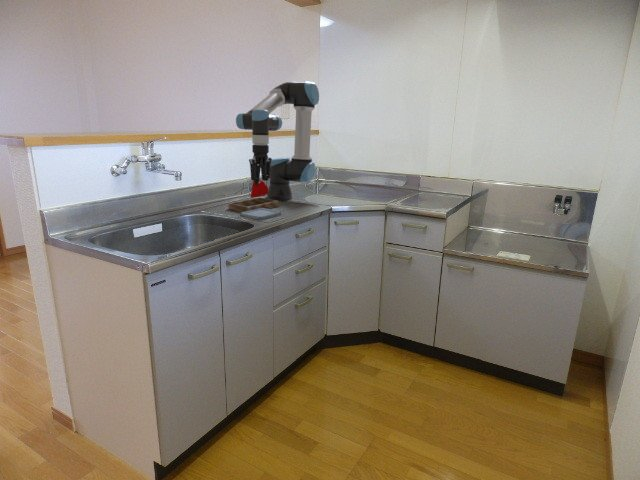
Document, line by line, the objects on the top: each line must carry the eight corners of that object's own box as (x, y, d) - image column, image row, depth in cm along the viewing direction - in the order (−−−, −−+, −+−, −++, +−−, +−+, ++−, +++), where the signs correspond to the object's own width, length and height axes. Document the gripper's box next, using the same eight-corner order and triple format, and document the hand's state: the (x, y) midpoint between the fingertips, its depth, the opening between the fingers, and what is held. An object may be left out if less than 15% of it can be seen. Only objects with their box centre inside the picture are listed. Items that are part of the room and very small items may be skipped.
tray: (261, 210, 214) (261, 207, 213) (281, 214, 207) (281, 211, 206) (240, 215, 202) (240, 212, 202) (260, 220, 195) (260, 217, 195)
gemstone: (260, 196, 191) (271, 185, 198) (244, 186, 192) (255, 175, 198) (256, 209, 198) (267, 197, 204) (240, 199, 198) (252, 188, 205)
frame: (259, 202, 233) (259, 197, 232) (278, 206, 225) (278, 200, 224) (228, 209, 215) (228, 203, 214) (248, 213, 207) (248, 207, 206)
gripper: (266, 143, 203) (266, 191, 210) (242, 144, 190) (242, 195, 197) (278, 144, 199) (277, 193, 206) (254, 145, 186) (254, 197, 193)
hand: (260, 194), depth 201 cm, fingers closed on gemstone, 3 cm apart
